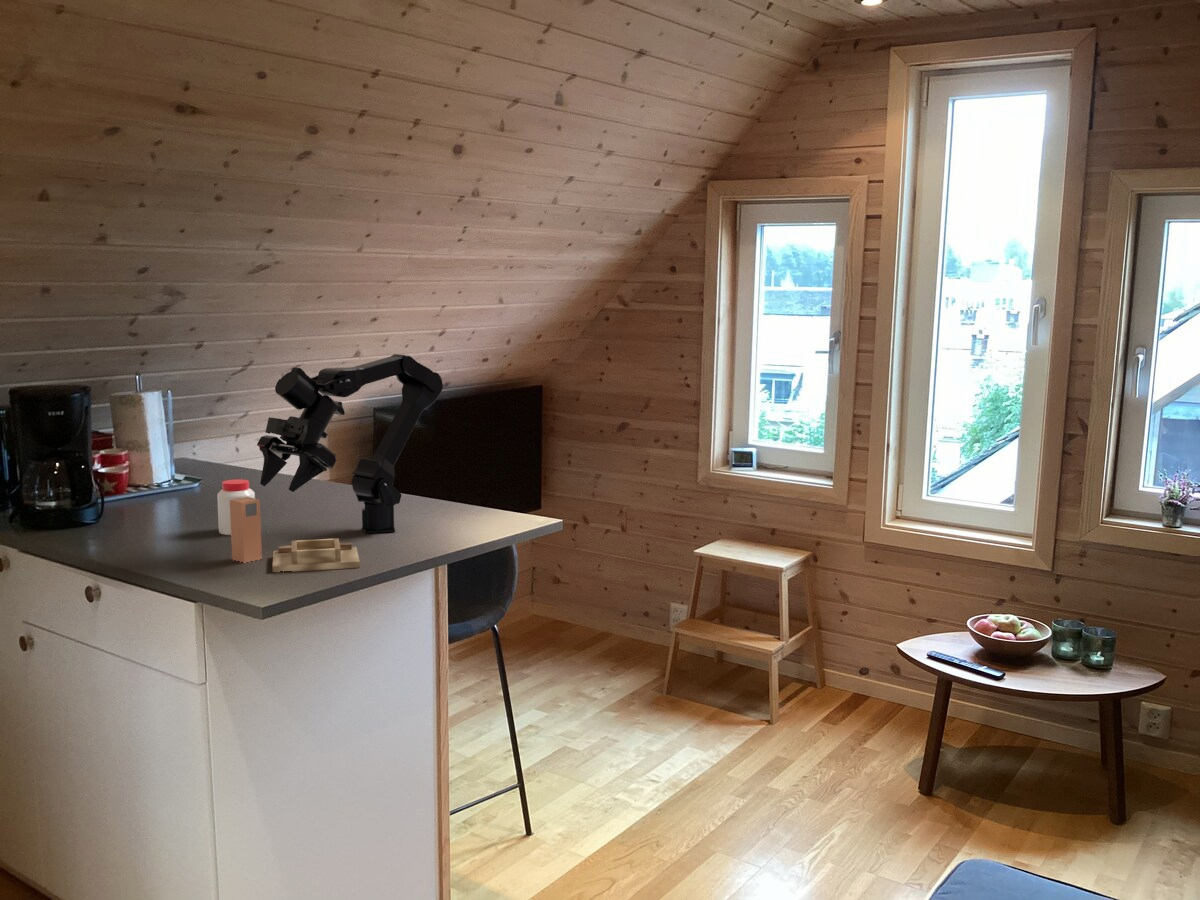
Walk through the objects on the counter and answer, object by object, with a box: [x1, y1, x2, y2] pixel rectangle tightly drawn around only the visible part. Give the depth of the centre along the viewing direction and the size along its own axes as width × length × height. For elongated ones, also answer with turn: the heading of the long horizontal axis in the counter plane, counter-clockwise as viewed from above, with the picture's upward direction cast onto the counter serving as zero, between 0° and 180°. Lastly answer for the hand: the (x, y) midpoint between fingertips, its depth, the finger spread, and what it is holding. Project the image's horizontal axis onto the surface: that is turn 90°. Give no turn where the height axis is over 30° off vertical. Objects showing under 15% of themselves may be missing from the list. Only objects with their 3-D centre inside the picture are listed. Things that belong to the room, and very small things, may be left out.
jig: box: [272, 537, 361, 573], centre depth 208 cm, size 16×12×4 cm
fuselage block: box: [230, 497, 263, 564], centre depth 209 cm, size 4×4×12 cm
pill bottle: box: [216, 478, 256, 536], centre depth 233 cm, size 8×8×11 cm
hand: (276, 487), depth 213 cm, fingers open, 9 cm apart
